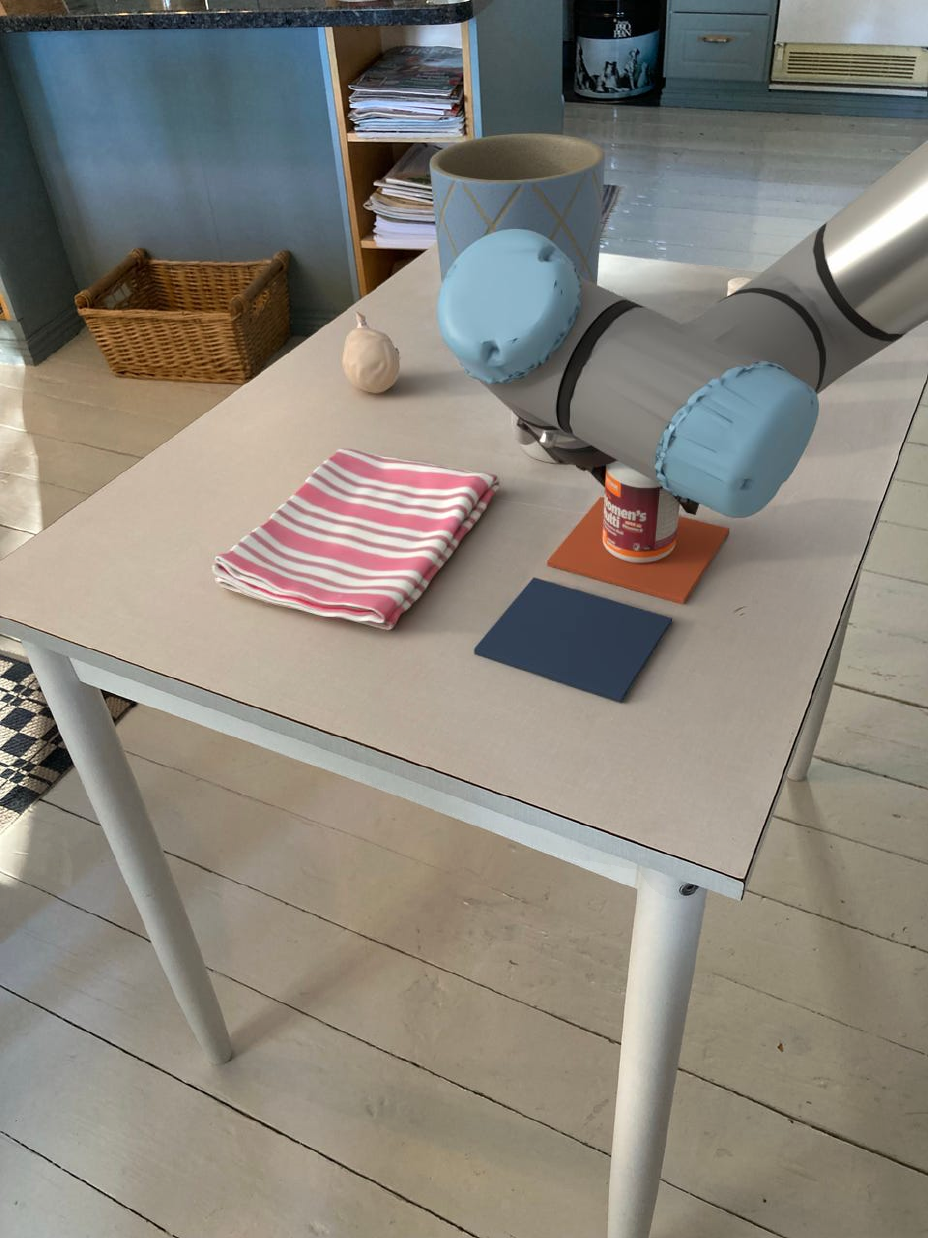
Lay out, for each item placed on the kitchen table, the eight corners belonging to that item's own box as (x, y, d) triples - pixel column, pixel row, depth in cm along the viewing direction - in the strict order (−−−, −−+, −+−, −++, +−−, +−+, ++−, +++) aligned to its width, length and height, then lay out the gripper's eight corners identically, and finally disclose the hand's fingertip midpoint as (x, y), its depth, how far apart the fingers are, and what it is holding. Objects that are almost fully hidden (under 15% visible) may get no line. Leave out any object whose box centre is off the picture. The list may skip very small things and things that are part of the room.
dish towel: (210, 596, 83) (200, 562, 81) (347, 460, 99) (342, 428, 97) (391, 643, 77) (386, 607, 75) (505, 490, 93) (504, 457, 91)
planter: (417, 321, 125) (402, 150, 112) (551, 290, 130) (551, 124, 118) (483, 379, 111) (475, 193, 98) (630, 341, 117) (639, 160, 104)
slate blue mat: (672, 622, 77) (672, 617, 77) (621, 703, 70) (621, 698, 70) (533, 581, 82) (533, 576, 82) (473, 653, 75) (473, 648, 75)
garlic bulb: (407, 375, 113) (400, 307, 108) (399, 401, 108) (391, 331, 103) (350, 375, 114) (341, 307, 109) (339, 401, 109) (329, 332, 104)
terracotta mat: (728, 533, 86) (729, 528, 85) (683, 604, 79) (684, 599, 78) (600, 501, 91) (600, 496, 90) (546, 565, 84) (547, 560, 83)
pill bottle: (588, 549, 84) (591, 429, 77) (627, 516, 88) (634, 398, 81) (651, 574, 81) (661, 452, 74) (689, 539, 84) (702, 419, 77)
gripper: (434, 421, 67) (542, 504, 88) (707, 484, 59) (754, 560, 81) (469, 316, 67) (569, 425, 89) (746, 366, 60) (783, 472, 81)
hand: (657, 489), depth 84 cm, fingers closed on pill bottle, 6 cm apart
